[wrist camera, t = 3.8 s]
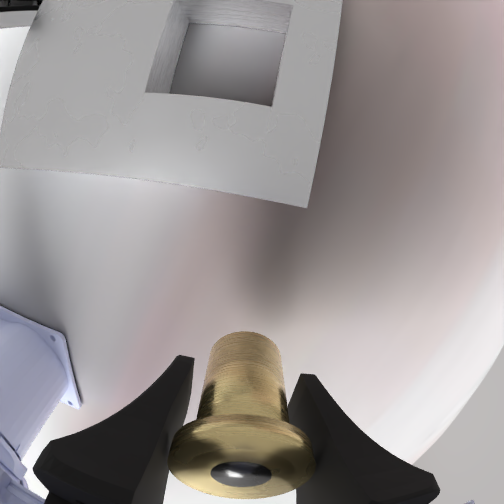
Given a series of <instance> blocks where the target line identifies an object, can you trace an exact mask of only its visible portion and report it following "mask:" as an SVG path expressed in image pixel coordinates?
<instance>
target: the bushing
mask: <svg viewBox="0 0 504 504" xmlns="http://www.w3.org/2000/svg"><path fill="white" fill-rule="evenodd" d="M167 464H168V468H169V470H170V471H171V473H172V474H173V475H174V476H175V477H176V478H177V479H178V480H180V481H181V482H182V483H184V484H186V485H187V486H189V487H191V488H193V489H196V490H198V491H201V492H204V493H207V494H210V495H214V496H219V497H225V498H234V499H258V498H266V497H272V496H276V495H280V494H284V493H287V492H289V491H292V490H294V489H296V488H298V487H300V486H302V485H303V484H304V483H306V482H307V481H308V480H309V479H310V478H311V477H312V475H313V474H314V472H315V467H316V465H315V459H314V454H313V448H312V444H311V441H310V439H309V437H308V436H307V435H306V434H305V433H304V432H303V431H302V430H301V429H299V428H297V427H296V426H294V425H292V424H290V423H289V416H288V408H287V400H286V393H285V385H284V378H283V370H282V363H281V355H280V352H279V349H278V348H277V346H276V345H275V344H274V343H273V342H272V341H271V340H270V339H269V338H267V337H265V336H263V335H261V334H258V333H254V332H235V333H231V334H228V335H226V336H224V337H222V338H221V339H219V340H218V341H217V342H216V343H215V344H214V346H213V347H212V350H211V352H210V357H209V361H208V366H207V371H206V376H205V380H204V385H203V390H202V395H201V399H200V404H199V409H198V414H197V419H196V420H194V421H192V422H190V423H187V424H186V425H184V426H182V427H181V428H180V429H179V430H178V431H177V432H176V433H175V434H174V437H173V439H172V443H171V447H170V451H169V455H168V459H167Z"/></svg>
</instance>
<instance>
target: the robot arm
mask: <svg viewBox="0 0 504 504" xmlns="http://www.w3.org/2000/svg"><path fill="white" fill-rule="evenodd" d="M193 368H194V358H192V357H187V356H182V355H179V356H177V357H176V358H175V360H174V361H173V362H172V363H171V365H170V366H169V367H168V368H167V369H166V371H165V372H164V373H163V374H162V375H161V376H160V377H159V378H158V379H157V380H156V381H155V382H154V383H153V384H152V385H151V386H150V387H149V388H148V389H147V390H146V391H144V392H143V393H142V394H141V395H140V396H139V397H138V398H136V399H135V400H134V401H132V402H131V403H130V404H129V405H127V406H126V407H124V408H123V409H121V410H120V411H118V412H117V413H115V414H114V415H112V416H110V417H109V418H107V419H105V420H103V421H101V422H100V423H98V424H95V425H93V426H91V427H89V428H87V429H84V430H82V431H80V432H77V433H75V434H72V435H68V436H65V437H62V438H59V439H55V440H52V441H50V442H49V443H48V445H47V446H46V447H45V448H44V450H43V451H42V452H41V454H40V456H39V458H38V459H37V461H36V463H35V465H34V467H33V472H34V474H35V475H36V477H37V478H38V479H39V480H40V482H41V483H42V484H43V485H44V486H45V487H46V488H47V489H48V490H49V494H48V496H47V498H46V500H45V499H43V498H42V497H40V496H38V495H37V494H35V493H33V492H32V491H30V490H29V488H28V484H27V482H26V480H25V478H24V475H25V473H26V471H27V468H26V467H25V466H24V465H23V464H22V463H21V462H20V461H21V460H22V459H23V457H24V455H25V454H26V452H27V450H28V449H29V447H30V446H31V444H32V442H33V441H34V439H35V438H36V436H37V435H38V433H39V431H40V430H41V428H42V427H43V425H44V424H45V422H46V421H47V419H48V418H49V416H50V415H51V413H52V412H53V410H54V409H55V407H56V406H57V404H58V403H59V401H61V402H63V403H65V404H67V405H69V406H72V407H74V408H76V409H80V408H81V406H82V405H81V401H80V398H79V395H78V391H77V387H76V384H75V380H74V376H73V372H72V368H71V363H70V359H69V354H68V349H67V344H66V339H65V337H64V335H63V334H62V333H60V332H58V331H55V330H53V329H50V328H48V327H45V326H43V325H41V324H38V323H36V322H34V321H31V320H29V319H27V318H25V317H22V316H20V315H18V314H16V313H14V312H12V311H10V310H8V309H6V308H4V307H2V306H0V504H163V500H164V494H165V489H166V484H167V478H168V473H169V468H168V464H167V459H168V455H169V451H170V447H171V443H172V439H173V437H174V434H175V433H176V432H177V431H178V430H179V429H180V428H181V427H182V426H183V423H184V420H185V417H186V414H187V410H188V405H189V401H190V396H191V389H192V378H193ZM288 416H289V423H290V424H292V425H294V426H296V427H297V428H299V429H301V430H302V431H303V432H304V433H305V434H306V435H307V436H308V437H309V439H310V441H311V444H312V448H313V454H314V459H315V465H316V467H315V472H314V474H313V475H312V477H311V478H310V479H309V480H308V481H307V482H306V483H304V484H303V485H302V486H300V487H298V488H296V504H429V503H430V502H431V501H433V500H434V499H435V498H436V497H437V496H438V495H439V493H440V488H439V486H438V484H437V482H436V480H435V477H434V475H433V474H431V473H429V472H427V471H424V470H422V469H419V468H417V467H414V466H413V465H411V464H409V463H407V462H405V461H403V460H401V459H399V458H398V457H396V456H394V455H393V454H391V453H390V452H388V451H387V450H385V449H384V448H383V447H381V446H380V445H378V444H377V443H376V442H374V441H373V440H372V439H371V438H370V437H369V436H367V435H366V434H365V433H364V432H363V431H362V430H361V429H360V428H359V427H358V426H357V425H356V424H355V423H354V422H353V421H352V420H351V419H350V418H349V417H348V416H347V415H346V414H345V413H344V411H343V410H342V409H341V408H340V407H339V406H338V404H337V403H336V402H335V401H334V399H333V398H332V397H331V395H330V394H329V393H328V392H327V390H326V389H325V388H324V386H323V385H322V384H321V382H320V381H319V379H318V378H317V377H316V376H315V375H313V374H300V377H299V379H298V382H297V384H296V387H295V389H294V392H293V394H292V397H291V399H290V402H289V404H288ZM465 504H475V503H474V501H473V500H471V501H469V502H467V503H465Z"/></svg>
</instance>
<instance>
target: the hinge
mask: <svg viewBox="0 0 504 504" xmlns="http://www.w3.org/2000/svg"><path fill="white" fill-rule="evenodd" d="M8 1H9V0H0V29H2V28H12V27H25V26H31V25H32V22H33V20H34V18H35V16H36V14H37V11H38V9H39V7H40V5H37V1H43V0H10V6H7V4H8Z"/></svg>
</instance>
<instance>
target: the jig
mask: <svg viewBox="0 0 504 504" xmlns="http://www.w3.org/2000/svg"><path fill="white" fill-rule="evenodd" d="M342 1H343V0H43V1H42V3H41V5H40V7H39V9H38V11H37V14H36V16H35V18H34V20H33V22H32V25H31V27H30V29H29V32H28V34H27V37H26V39H25V42H24V45H23V47H22V50H21V53H20V56H19V59H18V62H17V65H16V68H15V71H14V75H13V78H12V82H11V85H10V89H9V93H8V97H7V102H6V106H5V111H4V116H3V121H2V127H1V133H0V168H19V169H37V170H51V171H64V172H76V173H86V174H96V175H106V176H115V177H123V178H132V179H140V180H147V181H155V182H162V183H169V184H176V185H182V186H189V187H195V188H202V189H208V190H214V191H220V192H225V193H231V194H237V195H242V196H248V197H253V198H258V199H264V200H269V201H274V202H279V203H284V204H289V205H293V206H298V207H303V208H307V206H308V201H309V197H310V192H311V188H312V183H313V178H314V173H315V168H316V163H317V158H318V153H319V148H320V143H321V138H322V133H323V127H324V122H325V116H326V111H327V105H328V99H329V93H330V87H331V81H332V75H333V68H334V62H335V55H336V48H337V41H338V34H339V26H340V18H341V10H342ZM189 23H198V24H216V25H229V26H238V27H247V28H254V29H261V30H267V31H273V32H278V33H284V34H286V36H285V41H284V46H283V51H282V56H281V60H280V65H279V70H278V75H277V80H276V85H275V90H274V95H273V99H272V104H271V107H270V106H265V105H259V104H253V103H248V102H241V101H235V100H228V99H220V98H212V97H203V96H193V95H181V94H169V93H170V89H171V85H172V81H173V77H174V73H175V70H176V66H177V62H178V59H179V55H180V52H181V48H182V45H183V41H184V38H185V35H186V32H187V29H188V26H189Z"/></svg>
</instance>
